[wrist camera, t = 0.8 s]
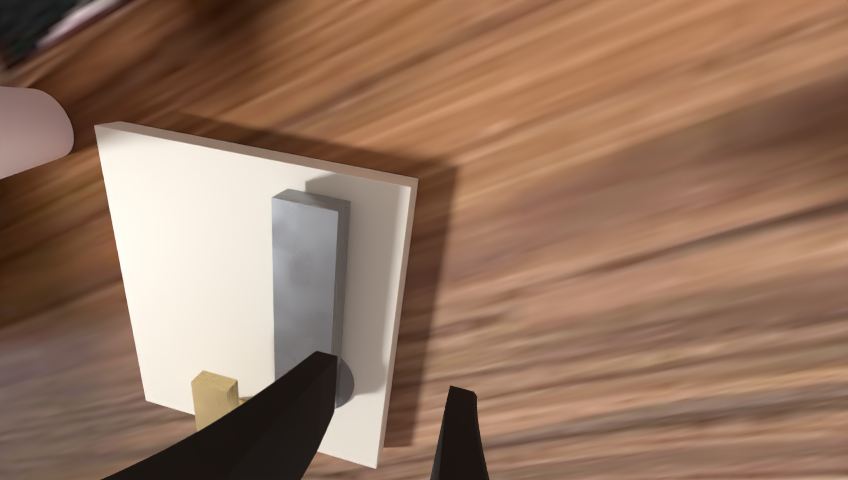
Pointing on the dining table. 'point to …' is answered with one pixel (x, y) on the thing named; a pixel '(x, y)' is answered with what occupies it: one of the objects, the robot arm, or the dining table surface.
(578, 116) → the dining table surface
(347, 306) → the base board
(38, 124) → the smoothie
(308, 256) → the latch bar
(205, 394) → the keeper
